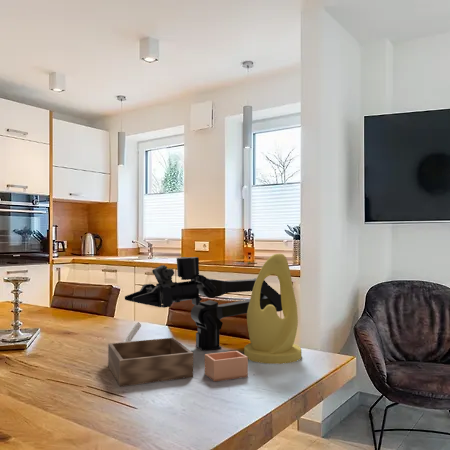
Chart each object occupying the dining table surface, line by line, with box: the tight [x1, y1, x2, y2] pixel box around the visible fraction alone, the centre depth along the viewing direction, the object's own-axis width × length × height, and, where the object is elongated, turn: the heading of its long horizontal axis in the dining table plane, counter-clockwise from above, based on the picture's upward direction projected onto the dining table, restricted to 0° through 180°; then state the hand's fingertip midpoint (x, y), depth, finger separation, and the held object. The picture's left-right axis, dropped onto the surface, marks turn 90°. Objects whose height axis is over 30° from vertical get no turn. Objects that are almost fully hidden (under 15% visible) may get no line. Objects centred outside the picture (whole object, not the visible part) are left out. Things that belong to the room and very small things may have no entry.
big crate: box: [107, 337, 194, 387], centre depth 117 cm, size 18×18×6 cm
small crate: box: [204, 350, 249, 382], centre depth 114 cm, size 9×6×5 cm
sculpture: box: [243, 253, 302, 365], centre depth 133 cm, size 17×17×30 cm
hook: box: [123, 322, 142, 342], centre depth 132 cm, size 8×12×7 cm
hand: (128, 298), depth 131 cm, fingers open, 9 cm apart
